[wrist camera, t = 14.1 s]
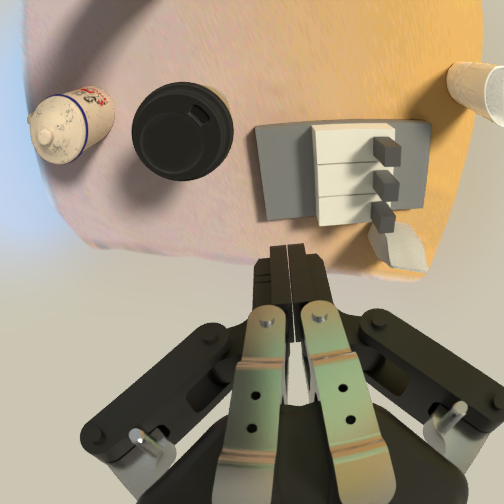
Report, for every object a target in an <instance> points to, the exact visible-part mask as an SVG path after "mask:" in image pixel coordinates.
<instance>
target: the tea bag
mask: <svg viewBox="0 0 504 504" xmlns="http://www.w3.org/2000/svg"><path fill="white" fill-rule="evenodd" d="M367 238H368V240H369V242H370V244H371V246H372V248H373V250H374V252H375V254H376V257H377V258H378V259H379V260H381V261H383V262H385V263H386V264H388V265H389V267H390V268H396V269H403V270H409V271H415V272H421V273H427V272H429V270H428V266H427V262H426V256H425V250H424V245H423V244H422V242H421V241H420V239H419V238H418V236H417V235H416V233H415V232H414V230H413V229H412V227H411V226H410V224H406V223H401V222H397V221H395V227H394V233H384V234H379V232H378V231H377V229H376V227H375V225H374V223H373V222H372V224H371V227H370V229H369V232H368V234H367Z"/></svg>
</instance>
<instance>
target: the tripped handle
mask: <svg viewBox="0 0 504 504" xmlns="http://www.w3.org/2000/svg"><path fill="white" fill-rule="evenodd" d="M399 187H400V182H399V181H398V180H397V179H396V178H395V177H394V176H393V175H392V174H391V173H390V172H389V170H373V189H374V190H375V192H376V193H377V195H378V196H379V197H380V199H381V200H382V202H395V201H398V197H399Z"/></svg>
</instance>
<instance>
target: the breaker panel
mask: <svg viewBox="0 0 504 504" xmlns="http://www.w3.org/2000/svg"><path fill="white" fill-rule="evenodd" d="M255 133H256V140H257V148H258V155H259V162H260V170H261V177H262V185H263V193H264V200H265V208H266V216H267V220H277V219H287V218H298V217H309V216H317V220H318V223H319V226H329V225H341V224H353V223H365V222H373V223H374V225H375V227H376V229H377V231H378V232H379V234H384V233H394V227H395V219H396V215H395V214H394V213H393V211H392V210H400V209H416V208H423V204H424V197H425V190H426V182H427V173H428V163H429V152H430V138H431V124H430V123H428V122H427V121H424V120H400V119H348V120H322V121H306V122H292V123H281V124H271V125H261V126H255ZM373 170H389V172H390V173H391V174H392V175H393V176H394V177H395V178H396V179H397V180H398V181H399V182H400V187H399V197H398V201H395V202H382V200H381V199H380V197H379V196H378V195H377V193H376V192H375V190H374V189H373Z"/></svg>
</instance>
